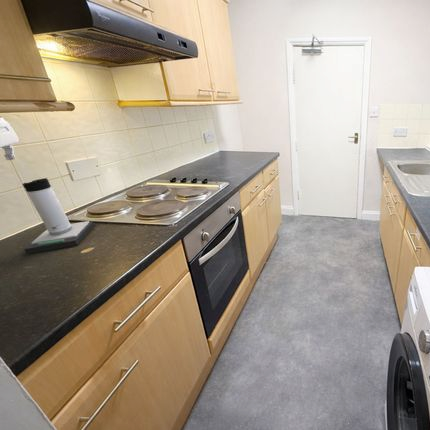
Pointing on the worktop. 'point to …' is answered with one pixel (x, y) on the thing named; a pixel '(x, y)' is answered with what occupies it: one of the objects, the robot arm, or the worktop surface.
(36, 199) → the travel mug
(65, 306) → the worktop surface
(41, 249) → the kitchen scale
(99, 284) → the worktop surface
